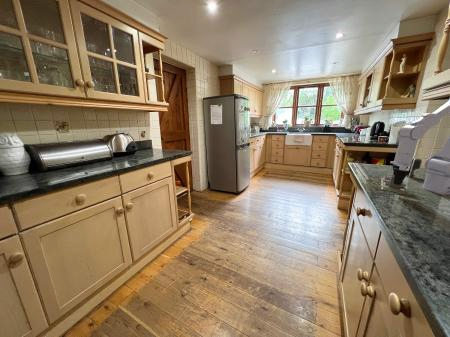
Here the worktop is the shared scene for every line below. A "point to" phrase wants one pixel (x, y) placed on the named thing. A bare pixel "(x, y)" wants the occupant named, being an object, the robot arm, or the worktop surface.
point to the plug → (391, 183)
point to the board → (385, 185)
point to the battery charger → (414, 167)
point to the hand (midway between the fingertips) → (396, 182)
